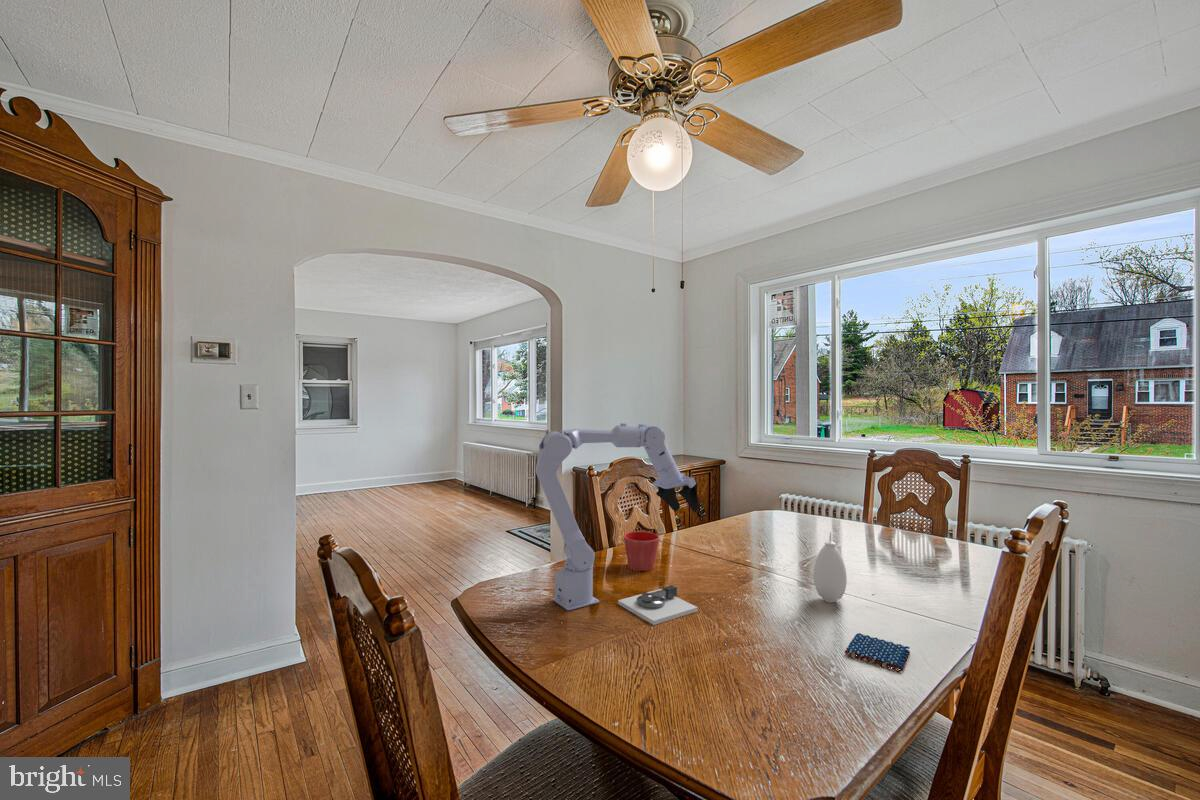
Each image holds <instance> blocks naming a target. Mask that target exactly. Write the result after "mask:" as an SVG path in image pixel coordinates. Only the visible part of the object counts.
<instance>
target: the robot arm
mask: <svg viewBox="0 0 1200 800" xmlns="http://www.w3.org/2000/svg"><path fill="white" fill-rule="evenodd" d="M627 424H628V423H626V422H625V423H624V422H623V423H622V422H621V423H620V425H616V426H614V428H612V429H610V430H608V429H607V430H606V429H585V428H583V429H582V428H572V429H562V430H560V431H558V430H552V431H548V432H547V433H545V435H544V436H543V438H542V439H541V441H540V443H539V444H538V445H539V446H538V454H537V459H536V465H535V474H536V476H537V478H538V481H539V483H540V486H541V487H542V490H543V493H544V495H545V498H546V501H547V503H548V505H549V507H550V510H551V512H552V515H553V517H554V520H555V521H556V524H557V527H558V529H559V532H560V534H561V537H562V540H563V552H564V554H565V556H566V557H567V559H566V561H565V563H564V567H563V568H561V569H559V570H557V571H556V572H555V574H554V582H553V583H554V585H553V586H554V587H553V588H554V589H553V591H554V596H553V598H552V600H553V602H555V603H557V604H558V605H559V606H561V607H562V608H564V609H565V610H566V611H573V610H575V609H576V610H577V609H580V608H582V607H587V606H591V605H595V604H598V603H600V600H599V599H597V598H596V597H594V596H593V594H594V589H593V588H594V586H593V585H594V584H593V583H594V580H593V579H594V562H595V560H596V553H595V550H594V549H593V548H592V547H591V546H590V545H589V544H588V543H587V541H586V540H585V537H584V535H583V533H582V532H581V530H580V528H579V525H578V522H577V521H576V518H575V515H574V512H573V511H572V508H571V506H570V505H571V504H570V503H569V500H568V499H567V495H566V493H565V491H564V489H563V486H562V485H561V484H562V483H561V482H560V478H559V477H558V474H557V472H558V470H559V468H560V467H561V464H562V463H563V462H564V461H565V460H566V459H567V458H568V457H569V455H571V453H572V450H573V449H574V450H576V449H578V448H579V447H581V446H582V445H583V444H588V443H589V444H592V443H593V444H594V443H595V444H597V443H598V444H599V443H612V444H613V446H614V447H616V448H641V447H644V448H643V449H644V450H645V452H646V454H647V457H648V459H649V460H650V463H651V465H652V467H653V468H654V471H655V472H656V474H657V475H656V476H657V477H658V478H659V479H656V480H655V481H653V482H652V484H653V486H654V488H655V489H656V490H658V491H656V493H655V495H656V496H657V497H659V498H660V499H662V500H663V501H664V502H665V503H666V504H667V505H668V506H669V507H670V508H671V510H672V511H673V512H677V511H678V510H680V508H681V505H680V501H679V500H678V497H677V495H676V492H675V488H682V489H680V490H679V491H678V495H680V496H681V497H682V498H683V499H684V500H685V501H686V502H687V505H688V507H689V508H690V510H691V511H692V512H693V513H696V512H697V511H698V510H699V509H700V508H701V507H700V503H699V496H698V485H699V483H698V482H697V481H696V480H695V479H694V477H689V476H687V475H685V474H684V472H680V469H679V467H678V466H677V463H676V462H675V461H676V460H675V459H674V457H673V456H672V453H671V452H670V450H669V447H668V446H667V444H666V442H665V439H666V436H665V435H666V434H665V432H664V431H662V430H661V428H659V427H658V426H653V425H647V424H644V423H639V424H638V425H627Z"/></svg>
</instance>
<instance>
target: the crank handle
mask: <svg viewBox="0 0 1200 800" xmlns="http://www.w3.org/2000/svg"><path fill="white" fill-rule="evenodd" d="M658 590H659V589H658ZM654 591H655V590H654ZM641 594H642V595H641V596H639V597H638V598H637V604H638V605H640V606H642V607H646V608H659V607H662V606H663V605H664V604H665V599H664V598H662V597H663V596H664V597H666V598H668V599H669V598H672V597H677V596H678V587H677V586H674V585H668V586H664V587H662V589H661V590H659V591H655V592H652V593H647V592H643V593H641Z"/></svg>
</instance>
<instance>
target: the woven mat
mask: <svg viewBox="0 0 1200 800" xmlns="http://www.w3.org/2000/svg"><path fill="white" fill-rule="evenodd" d="M910 648H911V647H910V646H907V645H905V646H904V645H903V644H901V643H894V642H893V641H888V640H887V641H886V640H885V639H883V638H882V639H881V638H878V637H874V636H872V637H871V636H870V635H869V634H863V633H860V632H858V633H856V634H855V635H854V637H853V638H852V639H851V640H850V642H849V644H848V647H846V648H845V650H844V653H845V657H846V656H847V658H849V657H851V658H852V659H857V661H859V660H861V661H862V659H863V662H864V661H865V662H864V663H868V661H869V663H870V662H871V663H873V662H874V663H875V664H877V665H876V666H878V665H879V664H880V665H879V666H881V665H882V666H881V667H882V668H884V667H886V668H889V667H890V669H891V667H892V669H895V671H896V672H897V671H899V669H901V670H900V671H903V670H904V667H905V664H906V663H907V660H908V657H909V656H910V654H911V651H910ZM856 655H857V656H856ZM867 660H868V661H867ZM871 663H870V664H871ZM874 663H873V664H874ZM892 669H891V670H892Z"/></svg>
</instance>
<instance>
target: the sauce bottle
mask: <svg viewBox="0 0 1200 800" xmlns="http://www.w3.org/2000/svg"><path fill="white" fill-rule="evenodd" d="M828 539H829V540H828V541H825V542H824V545H823V546H822V547H821V549H820V550H819V552H818V554H817V556H816V558H815V560H814V561H815V562H814V566H813V577H812V578H813V584H814V587H815V590H816V592H817V594H818V596H819V597H820V598H821V599H822V600H823V601H825V602H827V603H829V604H830V603H831V604H833V603H836V602H838V600H841V598H842V597H843V596H844V594H845V591H846V588H847V582H848V581H847V580H848V579H847V577H848V576H847V568H846V565H845V562H844V558H843V556H842V554H841V552H840V551H839V548H838V547H837V546H836V545H837V543H836V542H834V541H832V532H829V538H828Z"/></svg>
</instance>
